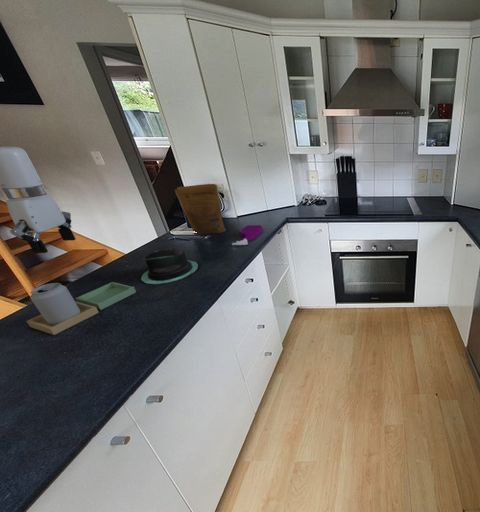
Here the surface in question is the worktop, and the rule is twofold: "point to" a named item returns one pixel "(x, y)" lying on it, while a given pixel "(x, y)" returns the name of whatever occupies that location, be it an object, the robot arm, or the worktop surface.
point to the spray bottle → (249, 234)
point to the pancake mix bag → (202, 208)
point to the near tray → (53, 329)
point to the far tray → (106, 295)
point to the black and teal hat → (167, 266)
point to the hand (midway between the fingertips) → (56, 246)
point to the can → (54, 303)
